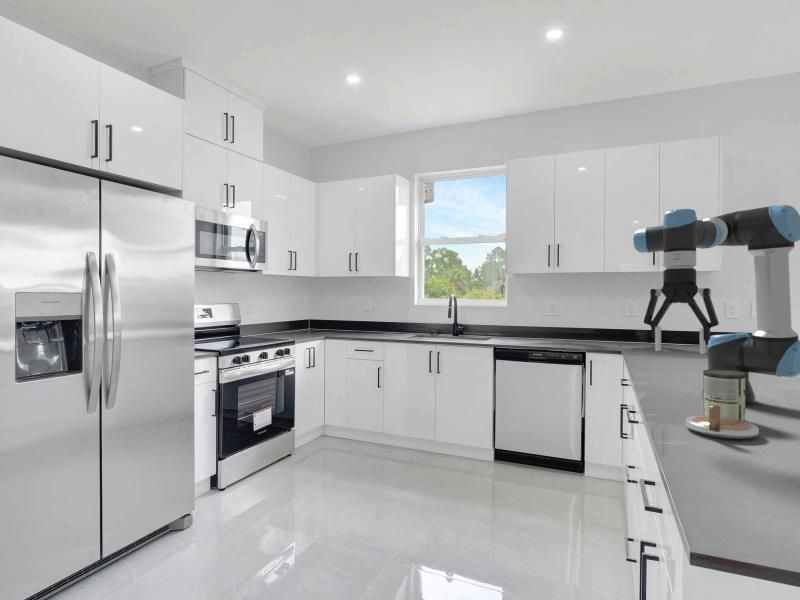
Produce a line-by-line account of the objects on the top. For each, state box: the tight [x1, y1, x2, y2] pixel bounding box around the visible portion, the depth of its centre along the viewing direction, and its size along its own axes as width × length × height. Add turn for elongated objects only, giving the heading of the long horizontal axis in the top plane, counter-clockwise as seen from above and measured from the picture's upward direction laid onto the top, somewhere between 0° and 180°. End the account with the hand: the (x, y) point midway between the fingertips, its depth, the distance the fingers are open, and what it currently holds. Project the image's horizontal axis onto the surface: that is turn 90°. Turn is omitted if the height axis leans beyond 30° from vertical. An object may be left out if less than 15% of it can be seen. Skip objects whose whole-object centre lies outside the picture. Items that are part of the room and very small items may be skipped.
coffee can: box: [702, 369, 746, 421], centre depth 136 cm, size 10×10×14 cm
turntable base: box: [698, 432, 748, 441], centre depth 123 cm, size 12×12×1 cm
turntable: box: [685, 405, 760, 439], centre depth 123 cm, size 17×16×8 cm
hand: (679, 351), depth 123 cm, fingers open, 10 cm apart
